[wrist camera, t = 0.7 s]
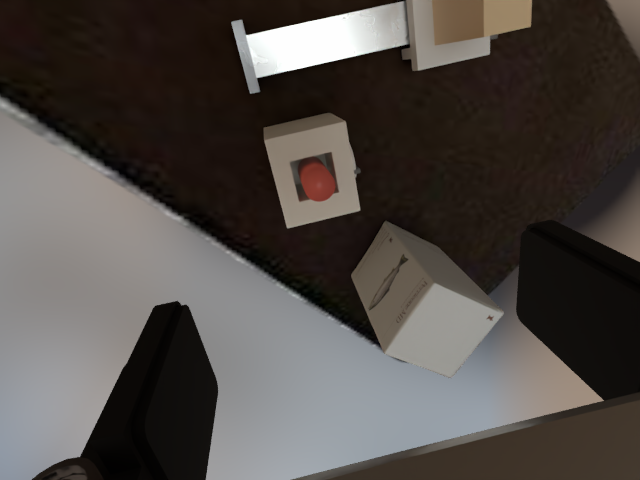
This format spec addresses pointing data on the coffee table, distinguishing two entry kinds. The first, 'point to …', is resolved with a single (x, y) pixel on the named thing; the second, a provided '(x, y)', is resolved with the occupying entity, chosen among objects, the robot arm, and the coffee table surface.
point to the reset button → (316, 179)
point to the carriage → (459, 28)
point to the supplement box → (422, 302)
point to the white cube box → (306, 141)
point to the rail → (321, 41)
